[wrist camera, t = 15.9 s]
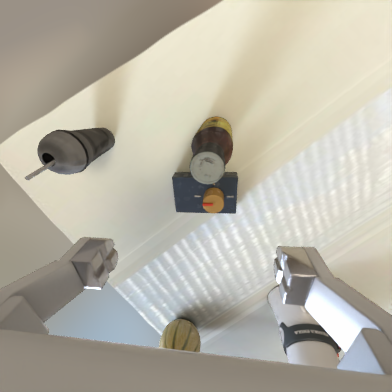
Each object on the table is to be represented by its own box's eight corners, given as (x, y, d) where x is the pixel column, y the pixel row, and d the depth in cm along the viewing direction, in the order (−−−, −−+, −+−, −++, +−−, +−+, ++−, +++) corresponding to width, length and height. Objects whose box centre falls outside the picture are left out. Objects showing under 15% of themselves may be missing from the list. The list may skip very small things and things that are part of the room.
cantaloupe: (186, 336, 78) (178, 385, 65) (157, 319, 74) (144, 368, 61) (210, 324, 71) (208, 376, 58) (181, 305, 68) (171, 356, 55)
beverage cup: (107, 114, 39) (14, 131, 21) (127, 147, 42) (59, 185, 24) (82, 129, 41) (-22, 155, 23) (102, 159, 44) (23, 202, 26)
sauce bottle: (216, 108, 36) (212, 121, 18) (237, 132, 37) (251, 165, 20) (193, 133, 39) (169, 165, 21) (213, 154, 40) (207, 200, 23)
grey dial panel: (236, 172, 41) (238, 177, 39) (234, 206, 46) (235, 214, 43) (175, 172, 43) (171, 177, 40) (178, 205, 47) (176, 212, 45)
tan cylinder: (224, 187, 40) (224, 195, 37) (223, 204, 42) (223, 214, 39) (203, 187, 41) (202, 195, 37) (204, 204, 43) (202, 213, 39)
